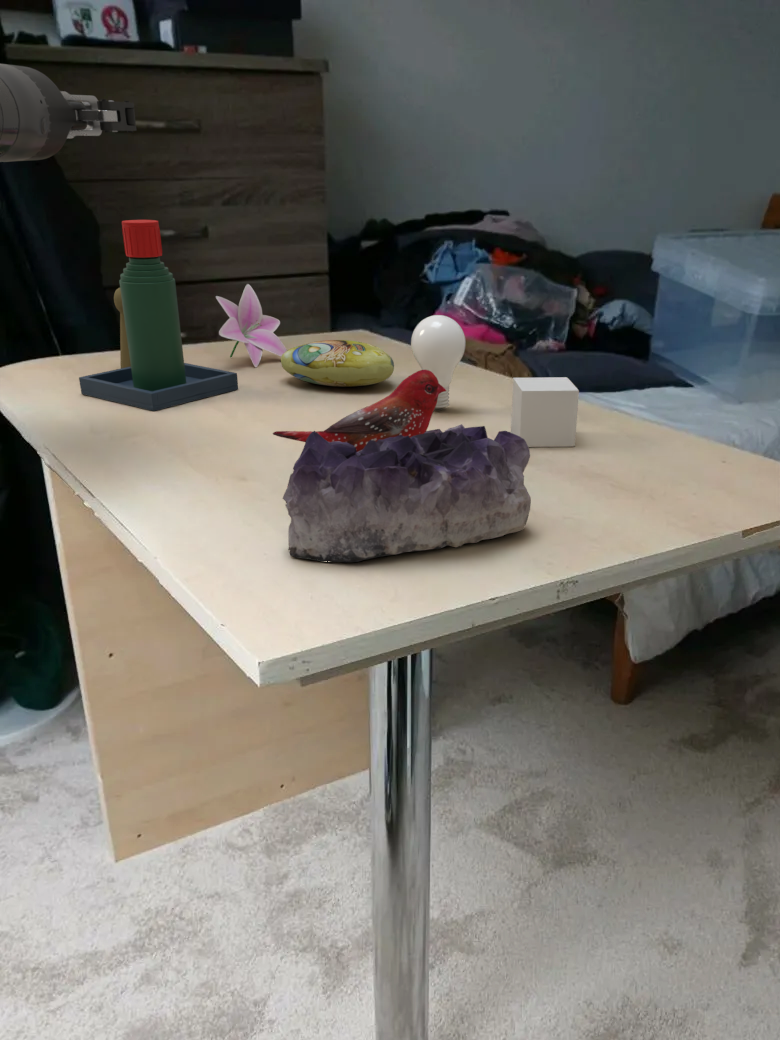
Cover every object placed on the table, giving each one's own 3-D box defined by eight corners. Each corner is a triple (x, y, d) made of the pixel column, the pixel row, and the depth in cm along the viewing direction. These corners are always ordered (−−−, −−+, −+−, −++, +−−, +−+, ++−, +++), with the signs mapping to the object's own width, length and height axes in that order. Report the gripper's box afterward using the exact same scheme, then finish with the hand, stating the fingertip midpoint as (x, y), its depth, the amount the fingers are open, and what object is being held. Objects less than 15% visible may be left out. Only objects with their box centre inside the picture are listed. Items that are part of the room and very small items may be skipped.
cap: (141, 258, 109) (137, 223, 107) (118, 255, 111) (113, 221, 109) (169, 255, 112) (165, 221, 110) (146, 252, 114) (142, 219, 112)
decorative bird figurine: (453, 473, 92) (454, 369, 87) (283, 505, 83) (275, 392, 79) (437, 465, 94) (438, 364, 89) (271, 495, 85) (262, 385, 81)
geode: (322, 591, 67) (303, 453, 64) (271, 554, 77) (252, 433, 74) (557, 532, 76) (551, 408, 73) (484, 505, 86) (476, 395, 82)
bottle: (156, 396, 114) (135, 229, 106) (123, 388, 118) (100, 225, 109) (197, 386, 119) (180, 225, 111) (163, 379, 122) (144, 222, 114)
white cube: (563, 430, 105) (567, 377, 103) (574, 446, 100) (579, 390, 97) (510, 431, 105) (512, 377, 102) (518, 447, 99) (522, 390, 97)
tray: (153, 411, 111) (151, 393, 110) (81, 394, 117) (78, 377, 116) (238, 389, 121) (237, 372, 120) (167, 374, 127) (165, 359, 127)
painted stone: (376, 379, 116) (271, 325, 117) (362, 429, 121) (263, 377, 123) (413, 345, 123) (315, 295, 125) (399, 393, 129) (305, 345, 130)
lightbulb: (472, 406, 114) (474, 313, 109) (450, 419, 109) (452, 321, 104) (425, 400, 117) (425, 309, 112) (402, 412, 111) (401, 317, 106)
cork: (161, 363, 134) (151, 282, 129) (169, 371, 129) (159, 288, 124) (117, 366, 131) (105, 284, 127) (124, 375, 127) (112, 290, 122)
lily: (208, 378, 130) (232, 318, 125) (186, 331, 137) (208, 272, 132) (285, 394, 138) (311, 338, 133) (260, 348, 144) (284, 294, 139)
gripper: (78, 64, 79) (149, 75, 93) (-85, 61, 80) (10, 72, 94) (92, 163, 82) (158, 158, 97) (-65, 159, 83) (23, 155, 98)
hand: (85, 116), depth 95 cm, fingers open, 8 cm apart
